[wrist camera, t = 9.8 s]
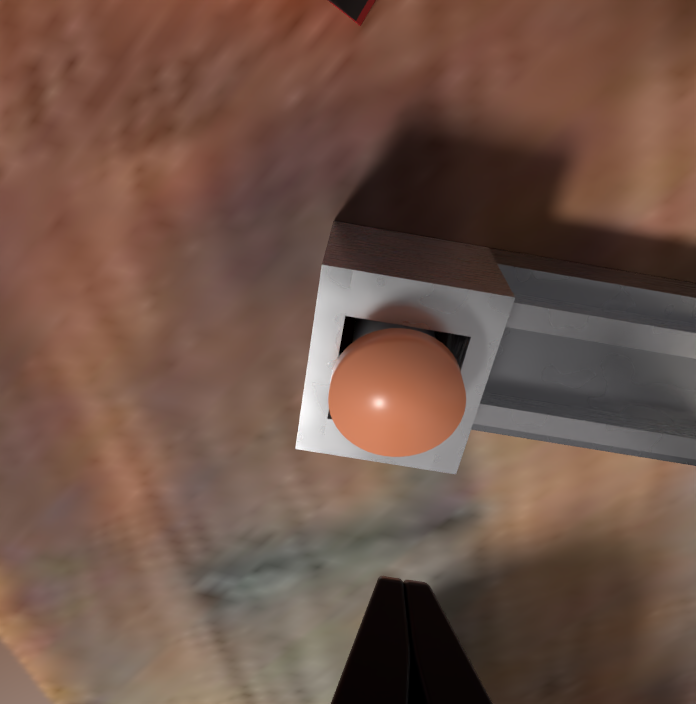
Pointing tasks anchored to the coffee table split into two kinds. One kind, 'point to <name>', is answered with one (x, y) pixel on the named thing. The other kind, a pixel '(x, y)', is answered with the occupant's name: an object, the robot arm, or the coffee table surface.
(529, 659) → the coffee table surface
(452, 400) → the button
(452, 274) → the rail
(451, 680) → the robot arm
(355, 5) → the puzzle toy
